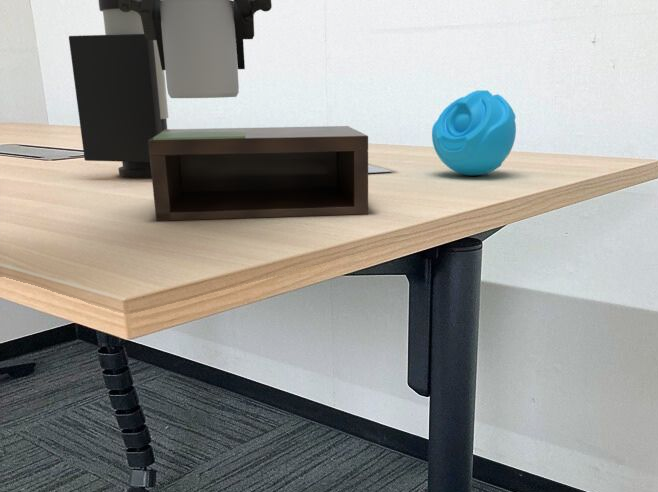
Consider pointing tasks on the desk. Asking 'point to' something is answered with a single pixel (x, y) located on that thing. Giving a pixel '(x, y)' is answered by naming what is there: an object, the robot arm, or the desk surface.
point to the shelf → (259, 172)
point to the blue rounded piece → (475, 133)
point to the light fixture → (119, 91)
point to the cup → (199, 48)
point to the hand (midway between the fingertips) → (203, 60)
